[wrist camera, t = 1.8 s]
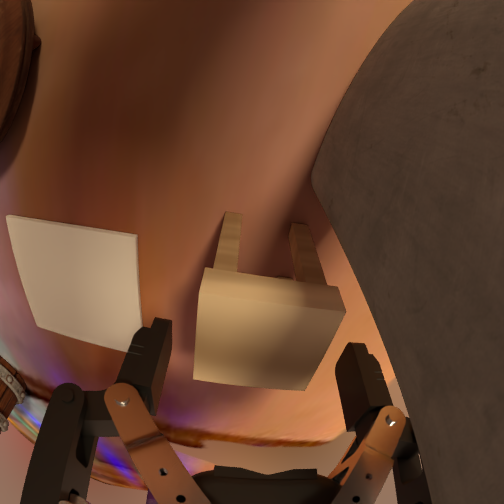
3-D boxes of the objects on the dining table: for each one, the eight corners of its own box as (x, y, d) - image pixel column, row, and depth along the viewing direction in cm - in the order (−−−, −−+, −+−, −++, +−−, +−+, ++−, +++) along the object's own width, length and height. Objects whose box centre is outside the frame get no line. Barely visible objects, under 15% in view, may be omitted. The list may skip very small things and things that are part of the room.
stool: (221, 206, 17) (199, 292, 11) (313, 221, 18) (346, 311, 11) (211, 282, 20) (192, 379, 13) (291, 293, 21) (304, 390, 14)
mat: (8, 214, 18) (5, 216, 17) (137, 234, 18) (135, 237, 18) (39, 323, 24) (37, 326, 23) (145, 353, 25) (144, 356, 24)
